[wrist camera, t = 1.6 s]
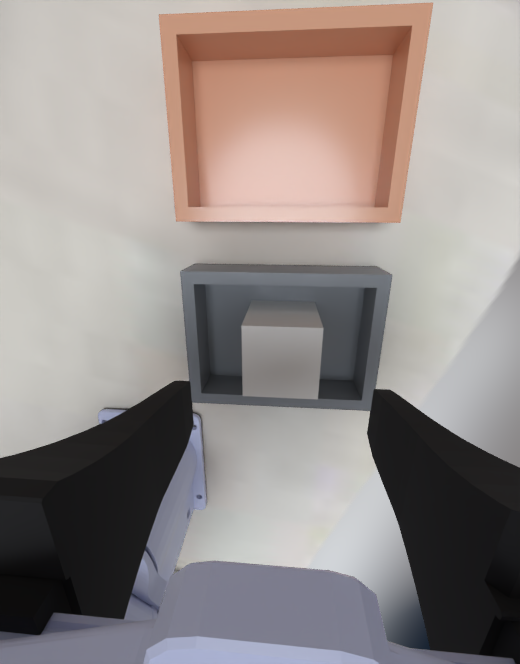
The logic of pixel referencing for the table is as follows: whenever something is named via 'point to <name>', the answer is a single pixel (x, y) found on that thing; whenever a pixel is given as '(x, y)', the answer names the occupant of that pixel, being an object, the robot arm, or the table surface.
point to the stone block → (281, 349)
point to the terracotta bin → (293, 111)
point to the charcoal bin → (285, 285)
